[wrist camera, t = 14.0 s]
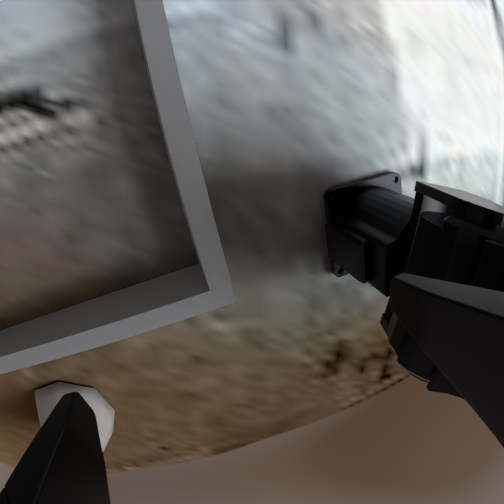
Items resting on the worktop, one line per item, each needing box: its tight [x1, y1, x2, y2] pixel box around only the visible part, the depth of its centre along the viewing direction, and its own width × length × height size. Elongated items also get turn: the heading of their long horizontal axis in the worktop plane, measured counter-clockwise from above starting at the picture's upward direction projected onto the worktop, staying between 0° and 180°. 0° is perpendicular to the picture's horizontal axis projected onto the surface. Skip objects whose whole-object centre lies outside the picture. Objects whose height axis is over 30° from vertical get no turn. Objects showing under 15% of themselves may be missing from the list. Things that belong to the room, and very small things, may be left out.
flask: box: [34, 382, 115, 452], centre depth 17 cm, size 7×7×10 cm
